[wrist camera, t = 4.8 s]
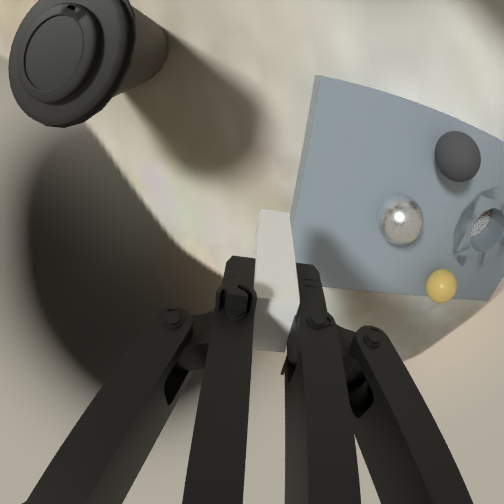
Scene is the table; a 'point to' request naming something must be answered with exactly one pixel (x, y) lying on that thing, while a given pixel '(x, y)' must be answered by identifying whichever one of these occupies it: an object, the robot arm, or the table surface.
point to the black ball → (457, 156)
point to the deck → (388, 183)
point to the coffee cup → (81, 57)
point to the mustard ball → (441, 286)
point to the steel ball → (399, 219)
